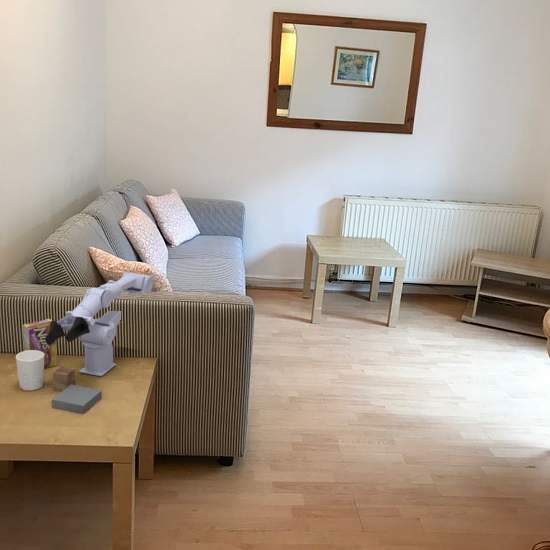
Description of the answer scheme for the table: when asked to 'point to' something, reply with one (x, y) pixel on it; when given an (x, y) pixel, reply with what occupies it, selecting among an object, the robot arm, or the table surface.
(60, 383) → the walnut block
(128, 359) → the table surface
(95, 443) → the table surface
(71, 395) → the slate board
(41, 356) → the white cup
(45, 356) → the candy box
